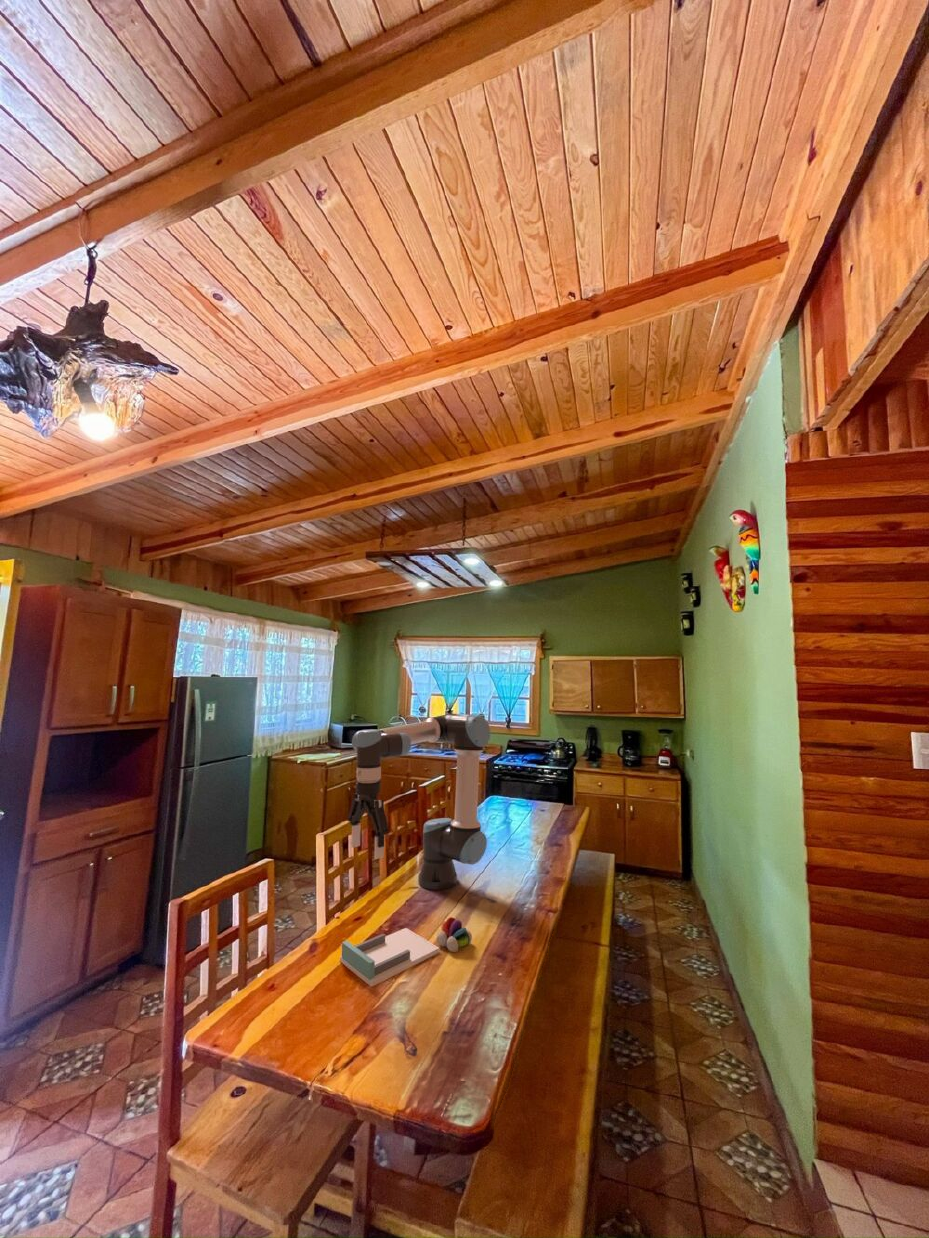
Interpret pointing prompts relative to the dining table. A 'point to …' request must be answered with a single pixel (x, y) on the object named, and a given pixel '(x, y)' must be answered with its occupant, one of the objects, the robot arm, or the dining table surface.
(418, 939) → the board
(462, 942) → the multicolored rounded lobe cluster
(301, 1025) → the dining table surface
